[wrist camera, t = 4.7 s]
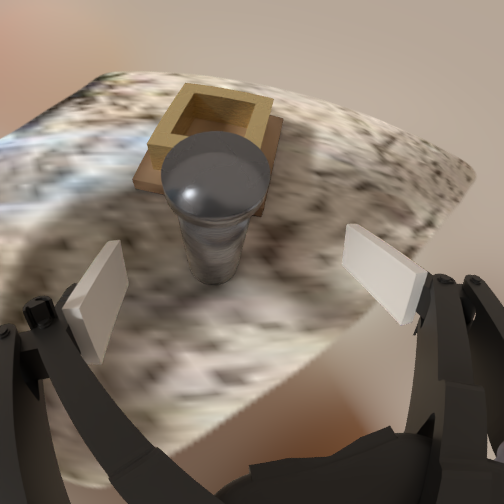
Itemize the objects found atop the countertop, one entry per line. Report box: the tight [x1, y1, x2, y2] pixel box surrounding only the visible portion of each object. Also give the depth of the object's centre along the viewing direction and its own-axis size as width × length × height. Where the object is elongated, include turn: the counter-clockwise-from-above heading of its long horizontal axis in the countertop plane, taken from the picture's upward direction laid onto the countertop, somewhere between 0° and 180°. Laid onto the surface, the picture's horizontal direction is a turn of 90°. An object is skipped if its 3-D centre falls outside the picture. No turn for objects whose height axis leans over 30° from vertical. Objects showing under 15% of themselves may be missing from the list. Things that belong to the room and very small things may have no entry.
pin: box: [161, 131, 270, 285], centre depth 17 cm, size 5×5×12 cm
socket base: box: [132, 115, 283, 217], centre depth 26 cm, size 12×12×2 cm
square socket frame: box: [147, 83, 274, 171], centre depth 24 cm, size 9×9×4 cm
